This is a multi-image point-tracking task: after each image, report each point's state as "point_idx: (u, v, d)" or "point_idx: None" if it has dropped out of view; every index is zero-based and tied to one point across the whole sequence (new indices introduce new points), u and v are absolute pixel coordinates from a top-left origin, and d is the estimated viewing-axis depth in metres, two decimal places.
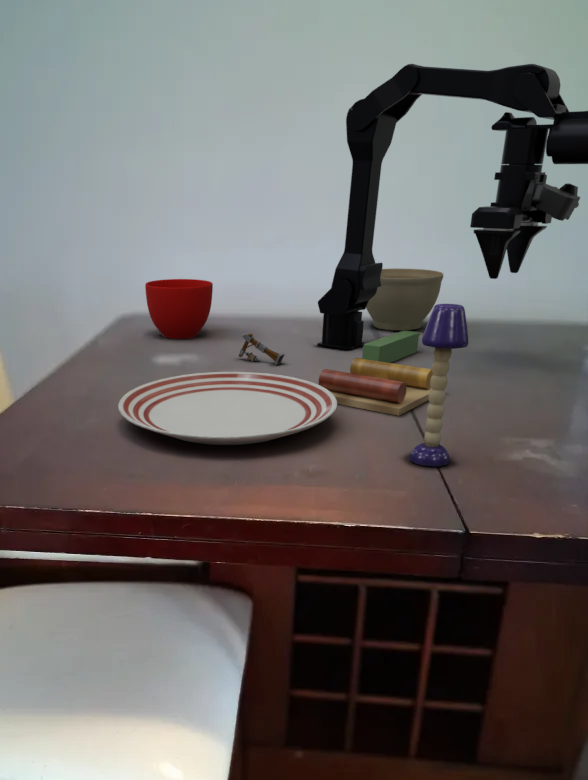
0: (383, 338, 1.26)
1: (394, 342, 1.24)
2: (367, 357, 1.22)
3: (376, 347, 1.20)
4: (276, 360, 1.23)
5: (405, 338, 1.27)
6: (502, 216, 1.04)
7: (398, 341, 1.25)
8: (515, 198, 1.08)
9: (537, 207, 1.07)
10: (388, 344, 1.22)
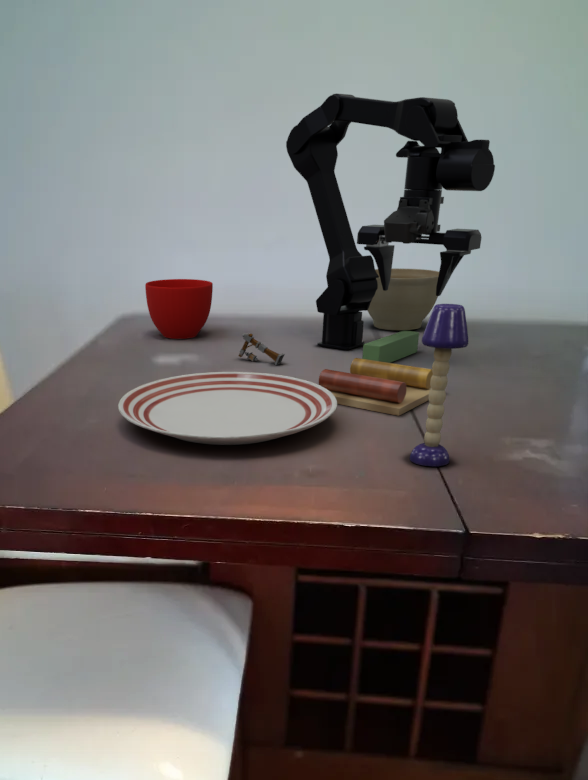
0: (383, 338, 1.26)
1: (394, 342, 1.24)
2: (367, 357, 1.22)
3: (376, 347, 1.20)
4: (276, 360, 1.23)
5: (405, 338, 1.27)
6: None
7: (398, 341, 1.25)
8: None
9: None
10: (388, 344, 1.22)
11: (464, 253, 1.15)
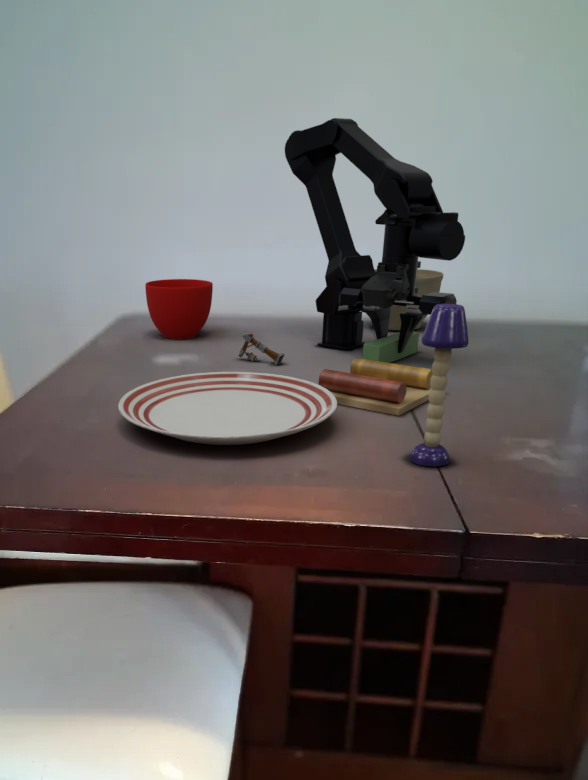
0: (383, 338, 1.26)
1: (394, 342, 1.24)
2: (367, 357, 1.22)
3: (376, 347, 1.20)
4: (276, 360, 1.23)
5: None
6: None
7: None
8: None
9: None
10: (388, 344, 1.22)
11: (422, 314, 1.21)
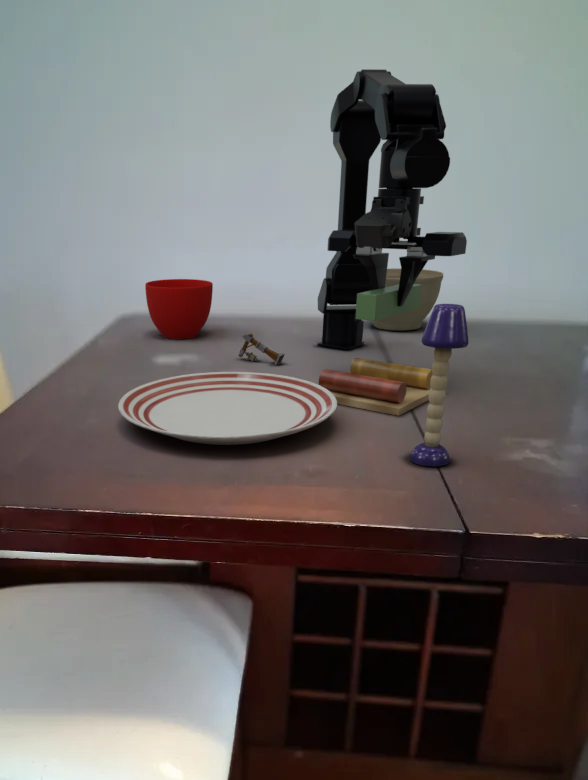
0: (380, 289, 1.07)
1: (393, 292, 1.05)
2: (362, 309, 1.03)
3: (372, 296, 1.01)
4: (276, 360, 1.23)
5: None
6: None
7: None
8: None
9: None
10: (386, 294, 1.03)
11: (426, 258, 1.02)
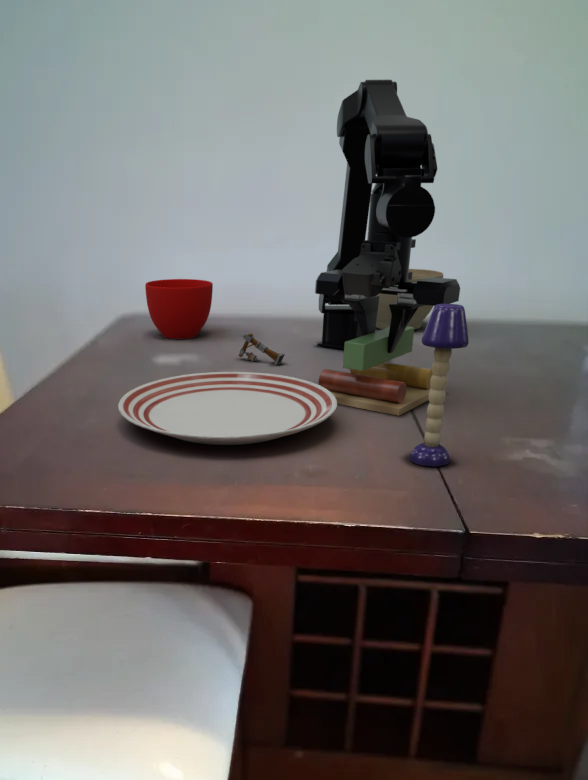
0: (370, 334, 1.02)
1: (383, 339, 1.00)
2: (349, 358, 0.98)
3: (360, 345, 0.97)
4: (276, 360, 1.23)
5: None
6: None
7: None
8: None
9: None
10: (375, 342, 0.99)
11: (418, 305, 0.97)
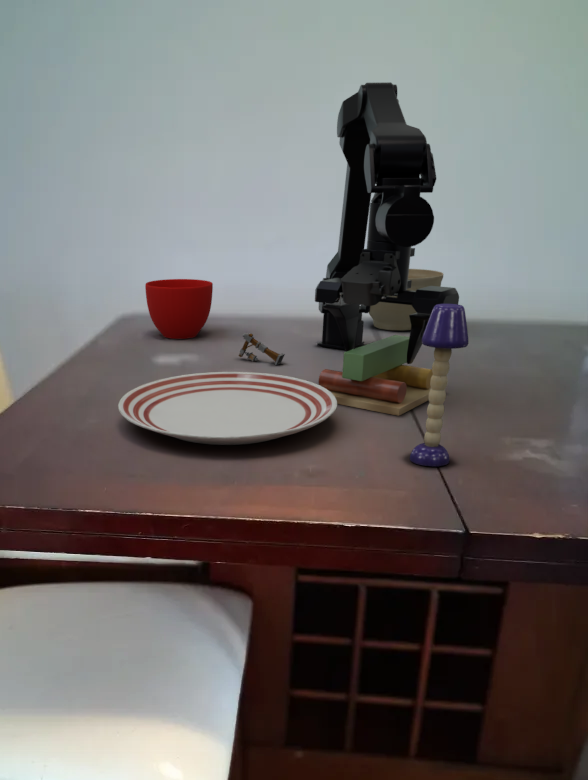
0: (369, 344, 1.03)
1: (382, 350, 1.01)
2: (348, 368, 0.99)
3: (360, 356, 0.97)
4: (276, 360, 1.23)
5: (396, 344, 1.04)
6: None
7: (387, 348, 1.02)
8: None
9: None
10: (374, 352, 0.99)
11: None
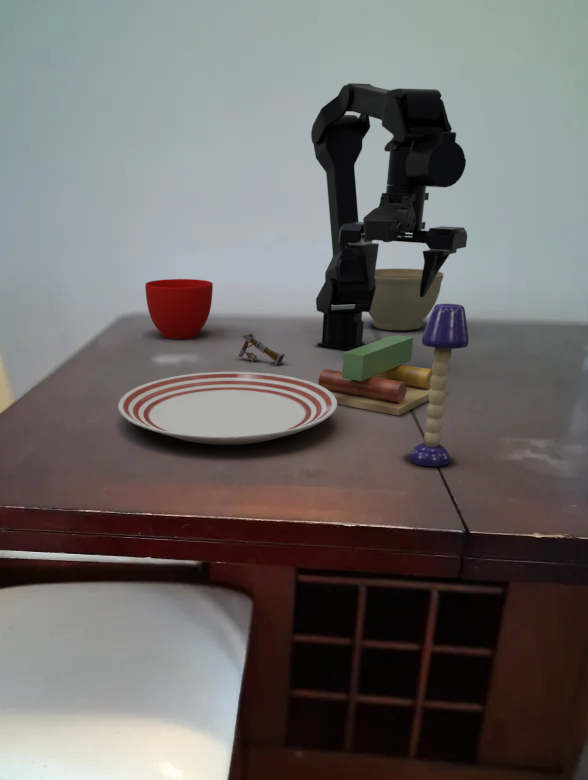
0: (369, 345, 1.03)
1: (382, 350, 1.01)
2: (348, 368, 0.99)
3: (360, 356, 0.97)
4: (276, 360, 1.23)
5: (396, 344, 1.04)
6: None
7: (387, 348, 1.02)
8: None
9: None
10: (374, 352, 0.99)
11: (448, 252, 1.09)
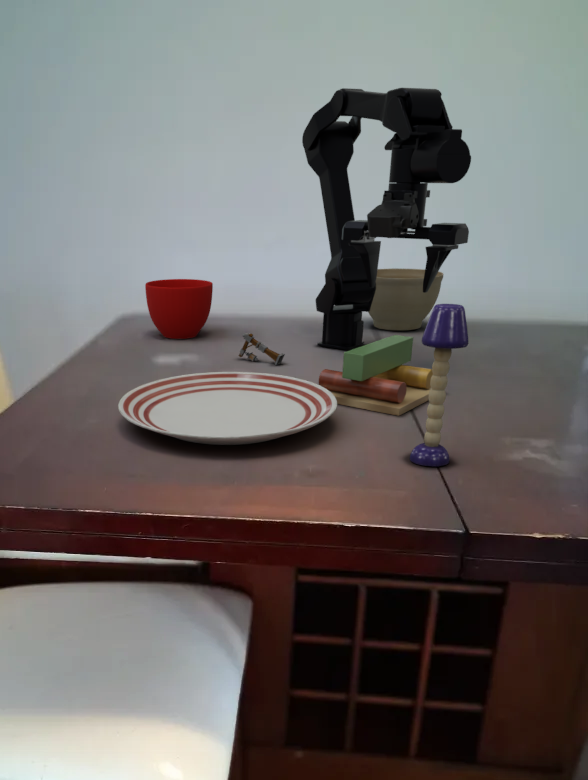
0: (369, 345, 1.03)
1: (382, 350, 1.01)
2: (348, 368, 0.99)
3: (360, 356, 0.97)
4: (276, 360, 1.23)
5: (396, 344, 1.04)
6: None
7: (387, 348, 1.02)
8: None
9: None
10: (374, 352, 0.99)
11: (451, 248, 1.11)
